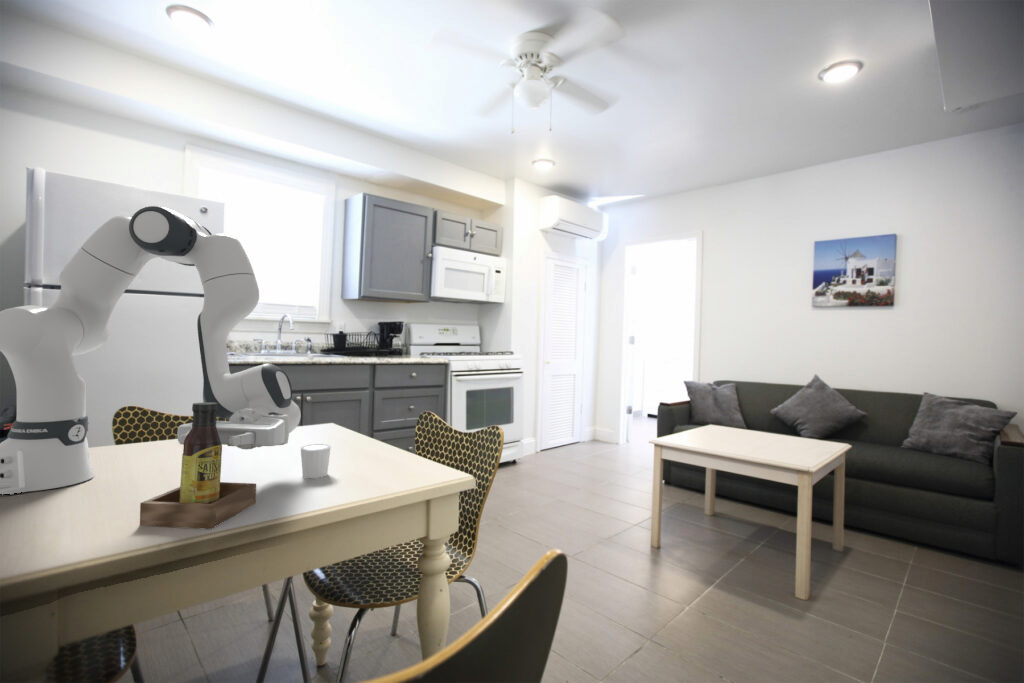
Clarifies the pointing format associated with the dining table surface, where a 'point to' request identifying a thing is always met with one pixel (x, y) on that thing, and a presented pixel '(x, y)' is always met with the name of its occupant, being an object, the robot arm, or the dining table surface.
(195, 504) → the brown wooden tray
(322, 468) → the white cup
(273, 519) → the dining table surface
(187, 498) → the sauce bottle
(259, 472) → the dining table surface
